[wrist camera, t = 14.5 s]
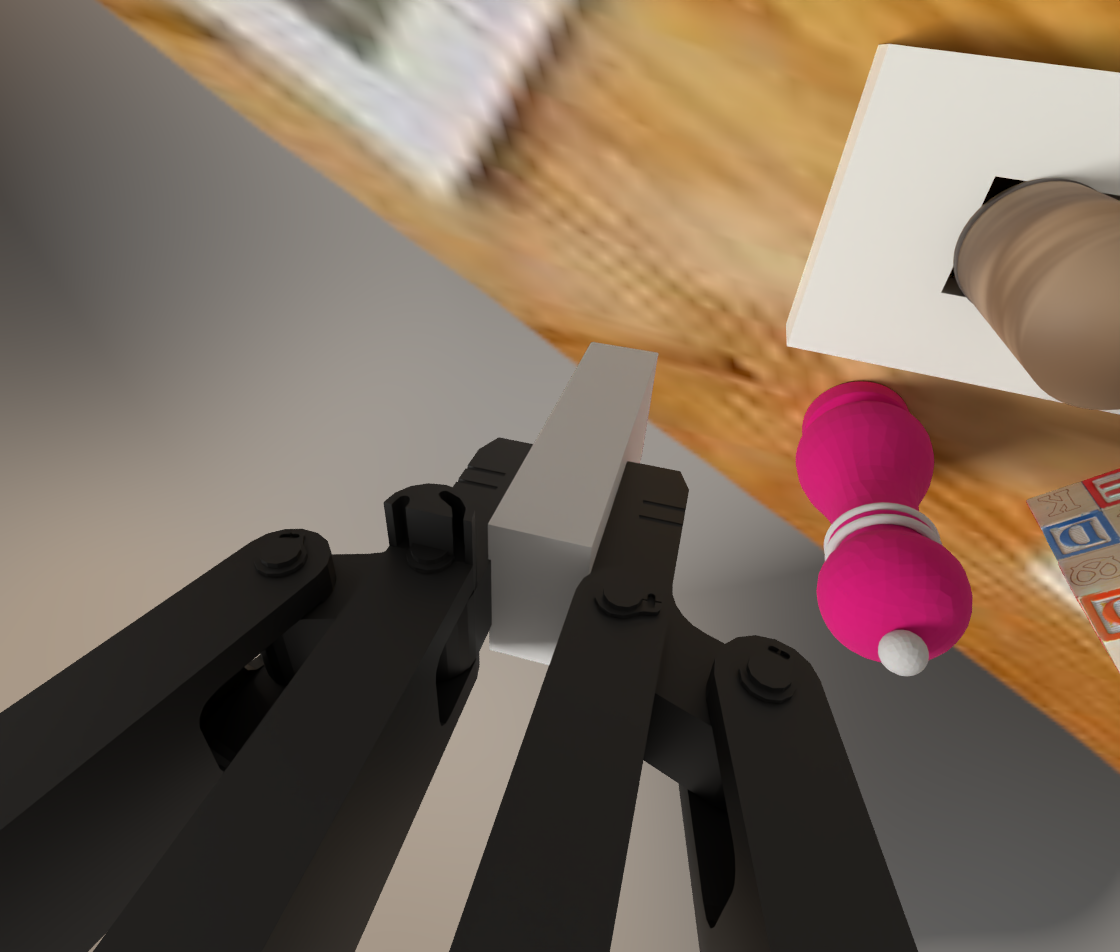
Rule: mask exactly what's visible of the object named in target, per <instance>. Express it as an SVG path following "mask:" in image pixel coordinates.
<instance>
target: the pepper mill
mask: <svg viewBox="0 0 1120 952" xmlns="http://www.w3.org/2000/svg"><path fill="white" fill-rule="evenodd" d="M802 435H803V436H802V437H801V439H800V442H799V445H798V448H797V453H796V467H797V472H798V477H799V481H800V484H801V486H802V489H803V490H804V492H805V494H806V495H807V497H808V498H809V500H810V502H811V503H812V504H813V505H814V506H815V507H816V508H817V509H818V510H819V511H820V512H821V513H822V514H823V515H825V517H826V518H827V519H828V520H829V521H830V523H831V524H832V525H831V526H830V528H829V530H828V531H827V533H826V536H825V540H824V552H825V563H824V564H823V566H822V568H821V570H820V573H819V576H818V584H817V599H818V604H819V609H820V611H821V614H822V617H823V619H824V621H825V623H826V625H827V627H828V628H829V630H830V631H831V632H832V634H833V635H834V636H835V637H836V638H837V639H838V640H839V641H840V642H841V643H842V644H843V645H845V646H846V647H847V648H848V649H850V650H851V651H853V652H855V653H857V654H859V655H861V656H863V657H865V658H868V659H871V660H874V661H878V662H882V663H883V665H884V666H885V667H886V668H887V669H888V670H889V671H891V672H893V673H896V674H898V675H900V676H913V675H915V674H918V673H920V672H921V671H922V670H923V669H924V668H925V667H926V665H927V663H928V660H930V659H933V658H935V657H937V656H939V655H941V654H943V653H945V652H946V651H948V650H949V649H950V648H951V647H952V646H953V645H954V644H955V643H957V641H958V640H959V639H960V638H961V637H962V635H963V634H964V632H965V630H966V628H967V627H968V624H969V621H970V617H971V613H972V592H971V588H970V584H969V581H968V578H967V575H966V573H965V571H964V569H963V567H962V565H961V564H960V562H959V561H958V560H957V559H956V558H955V557H954V556H953V555H952V554H951V553H950V552H949V551H948V550H947V549H946V548H945V547H944V546H943V545H942V543H941V541H940V537H939V533H938V531H937V529H936V527H935V525H934V524H933V523H932V522H931V520H930V519H929V518H927V517H926V516H925V515H924V514H922V513H921V512H919V508H918V506H919V504H920V502H921V501H922V499H923V497H924V496H925V494H926V493H927V490H928V488H929V486H930V482H931V478H932V475H933V469H934V454H933V449H932V444H931V441H930V438H929V435H928V433H927V431H926V430H925V428H924V427H923V425H922V424H921V423H920V422H919V420H917V419H916V418H915V417H914V416H913V415H912V414H910V413H909V410H908V408H907V405H906V404H905V402H904V401H903V399H902V398H901V397H900V396H899V395H898V394H897V393H895V392H894V391H893V390H891V389H889V388H888V387H886V386H883V385H881V384H877V383H872V382H861V381H859V382H849V383H844V384H841V385H838V386H835V387H833V388H831V389H829V390H827V391H826V392H824V393H823V394H821V395H820V396H819V397H817V398H816V399H815V400H814V402H813V403H812V404H811V405H810V407H809V408H808V410H807V412H806V414H805V416H804V420H803V425H802Z"/></svg>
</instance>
